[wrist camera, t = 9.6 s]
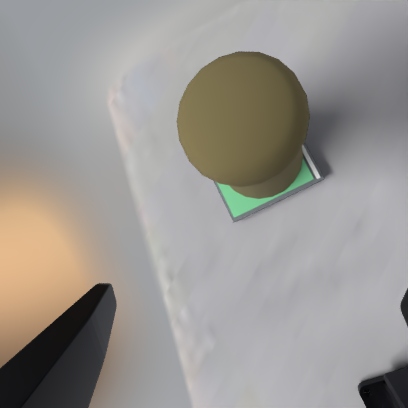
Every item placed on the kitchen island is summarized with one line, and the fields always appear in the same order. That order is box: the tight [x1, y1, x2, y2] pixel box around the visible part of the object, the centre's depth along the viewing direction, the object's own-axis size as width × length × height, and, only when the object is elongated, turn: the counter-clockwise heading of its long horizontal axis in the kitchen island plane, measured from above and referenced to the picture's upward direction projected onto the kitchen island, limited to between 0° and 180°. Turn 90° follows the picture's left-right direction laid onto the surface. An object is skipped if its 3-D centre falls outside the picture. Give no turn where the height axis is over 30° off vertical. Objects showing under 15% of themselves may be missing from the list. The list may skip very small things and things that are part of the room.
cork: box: [177, 52, 310, 199], centre depth 15 cm, size 6×6×11 cm
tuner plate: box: [214, 142, 324, 222], centre depth 21 cm, size 7×7×1 cm
